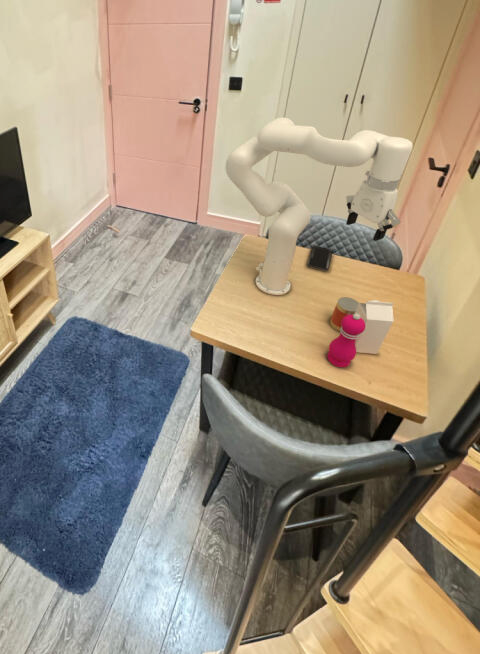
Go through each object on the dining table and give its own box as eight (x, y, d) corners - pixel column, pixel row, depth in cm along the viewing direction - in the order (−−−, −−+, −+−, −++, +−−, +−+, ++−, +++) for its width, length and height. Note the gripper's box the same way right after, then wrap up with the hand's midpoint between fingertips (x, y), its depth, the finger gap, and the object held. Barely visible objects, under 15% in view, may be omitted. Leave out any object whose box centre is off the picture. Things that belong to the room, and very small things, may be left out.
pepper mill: (320, 351, 129) (337, 307, 117) (342, 349, 129) (361, 304, 117) (333, 370, 123) (353, 325, 111) (356, 367, 123) (378, 322, 112)
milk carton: (377, 354, 126) (398, 311, 115) (352, 352, 128) (371, 309, 117) (369, 337, 132) (388, 295, 121) (345, 335, 133) (362, 293, 123)
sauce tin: (325, 321, 139) (332, 300, 133) (340, 315, 141) (348, 294, 135) (340, 334, 134) (349, 313, 128) (356, 328, 135) (365, 307, 130)
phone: (332, 250, 169) (328, 270, 159) (332, 252, 170) (327, 272, 159) (312, 245, 173) (306, 264, 162) (311, 247, 173) (306, 266, 163)
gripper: (346, 172, 119) (331, 220, 129) (400, 197, 106) (379, 249, 115) (366, 167, 121) (349, 215, 131) (421, 191, 107) (398, 243, 117)
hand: (363, 231), depth 123 cm, fingers open, 9 cm apart
